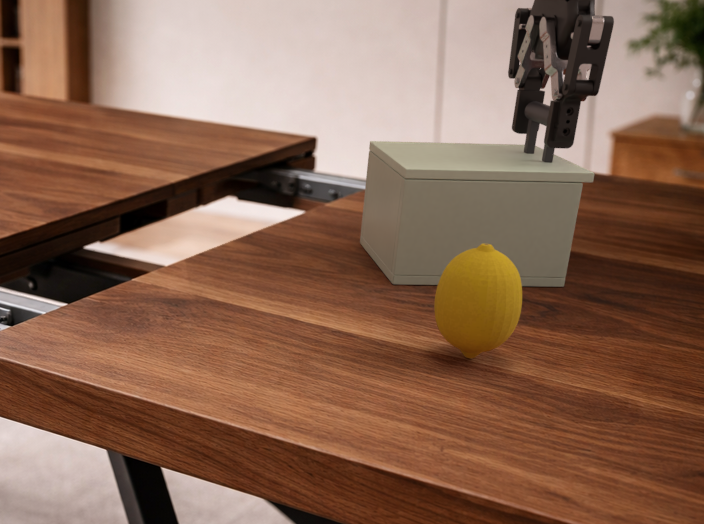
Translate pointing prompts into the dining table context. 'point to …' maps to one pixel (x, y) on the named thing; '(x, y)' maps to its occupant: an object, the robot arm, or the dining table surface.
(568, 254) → the compartment
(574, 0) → the robot arm
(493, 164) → the compartment lid
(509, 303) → the lemon
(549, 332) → the dining table surface
